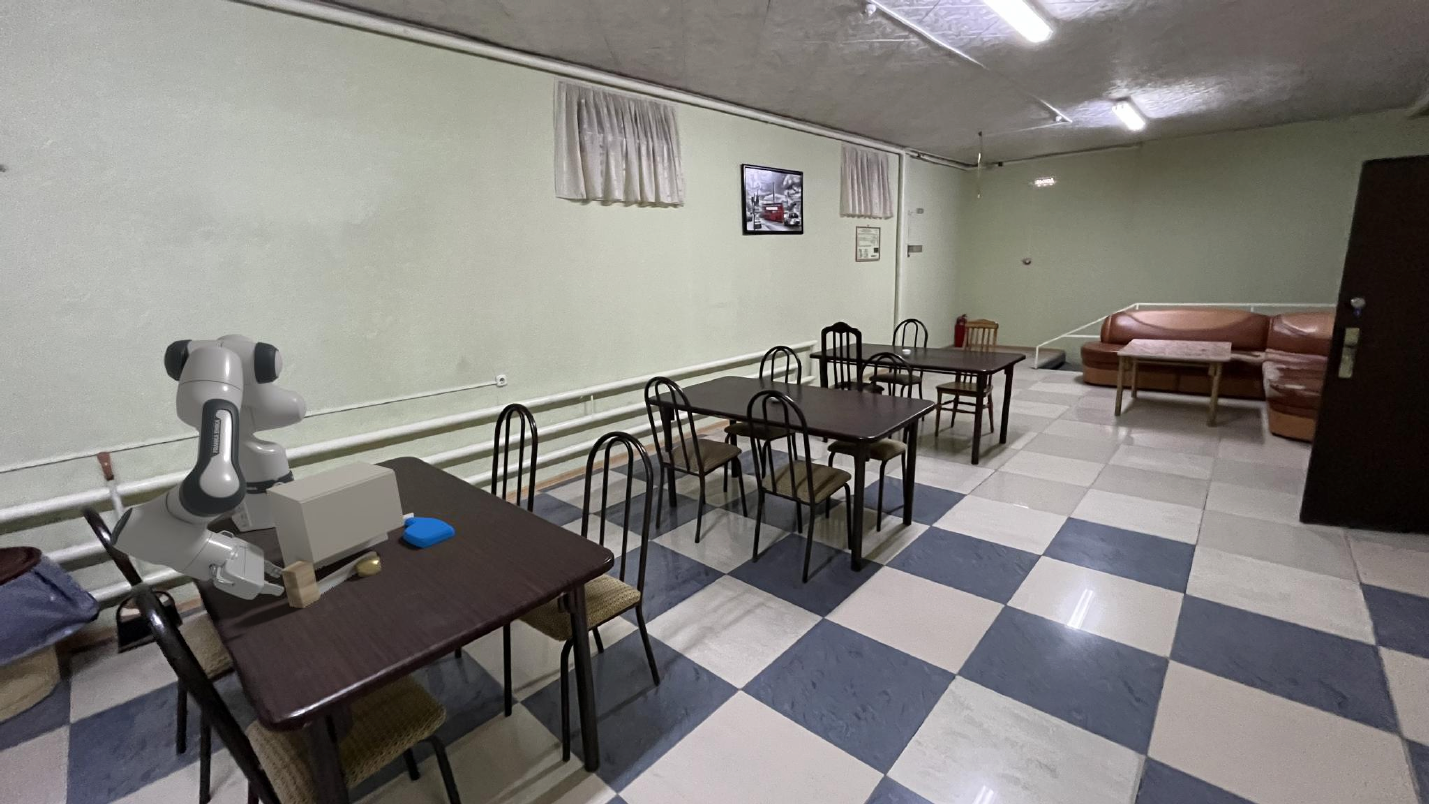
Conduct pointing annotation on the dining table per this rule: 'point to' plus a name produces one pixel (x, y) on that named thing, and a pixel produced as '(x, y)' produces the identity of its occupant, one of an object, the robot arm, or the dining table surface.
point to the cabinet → (335, 513)
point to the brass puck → (368, 566)
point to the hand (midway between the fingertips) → (281, 582)
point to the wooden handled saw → (313, 581)
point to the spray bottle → (425, 531)
